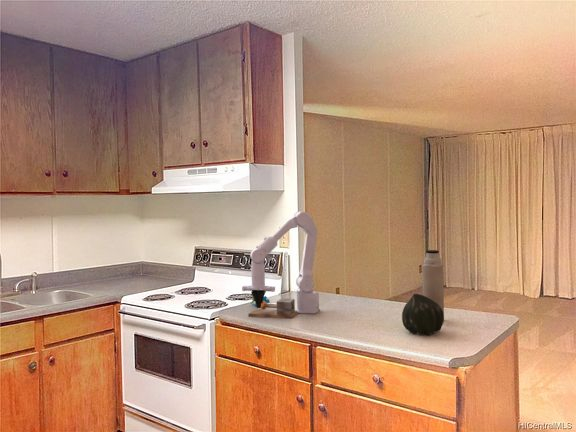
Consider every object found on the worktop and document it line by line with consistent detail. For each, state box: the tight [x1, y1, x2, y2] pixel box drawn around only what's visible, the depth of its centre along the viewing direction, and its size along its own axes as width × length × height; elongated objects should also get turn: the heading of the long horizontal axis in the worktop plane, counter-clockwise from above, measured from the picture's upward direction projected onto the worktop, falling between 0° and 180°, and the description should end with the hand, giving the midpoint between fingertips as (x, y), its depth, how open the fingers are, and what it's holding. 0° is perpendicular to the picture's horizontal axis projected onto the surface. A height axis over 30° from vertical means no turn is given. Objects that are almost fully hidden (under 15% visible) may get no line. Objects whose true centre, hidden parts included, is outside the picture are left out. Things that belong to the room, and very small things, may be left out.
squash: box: [401, 293, 445, 336], centre depth 172 cm, size 14×15×15 cm
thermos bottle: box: [421, 249, 445, 315], centre depth 188 cm, size 8×8×28 cm
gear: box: [250, 291, 271, 307], centre depth 223 cm, size 11×6×10 cm
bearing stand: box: [247, 297, 299, 319], centre depth 204 cm, size 20×9×6 cm, turn 74°
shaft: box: [260, 301, 277, 310], centre depth 203 cm, size 13×4×4 cm, turn 74°
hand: (259, 307), depth 205 cm, fingers closed
